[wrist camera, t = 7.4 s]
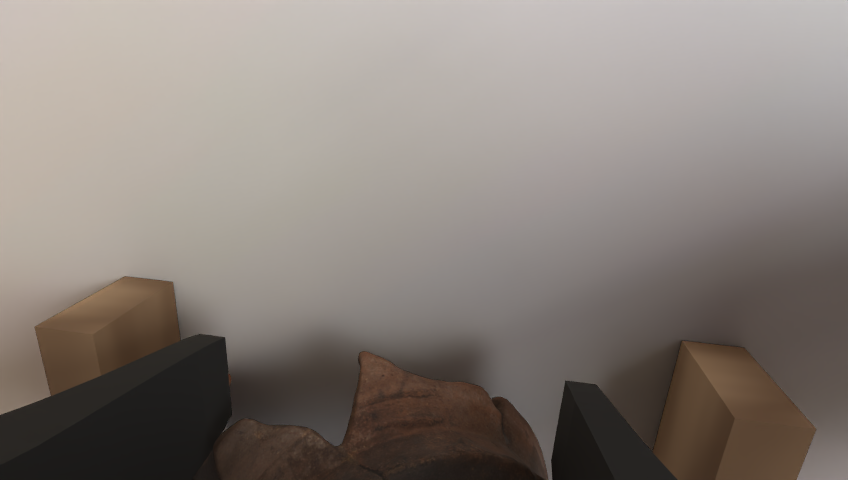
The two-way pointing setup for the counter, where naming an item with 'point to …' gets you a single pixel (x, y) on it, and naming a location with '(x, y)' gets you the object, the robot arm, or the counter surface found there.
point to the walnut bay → (675, 443)
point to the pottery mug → (389, 437)
